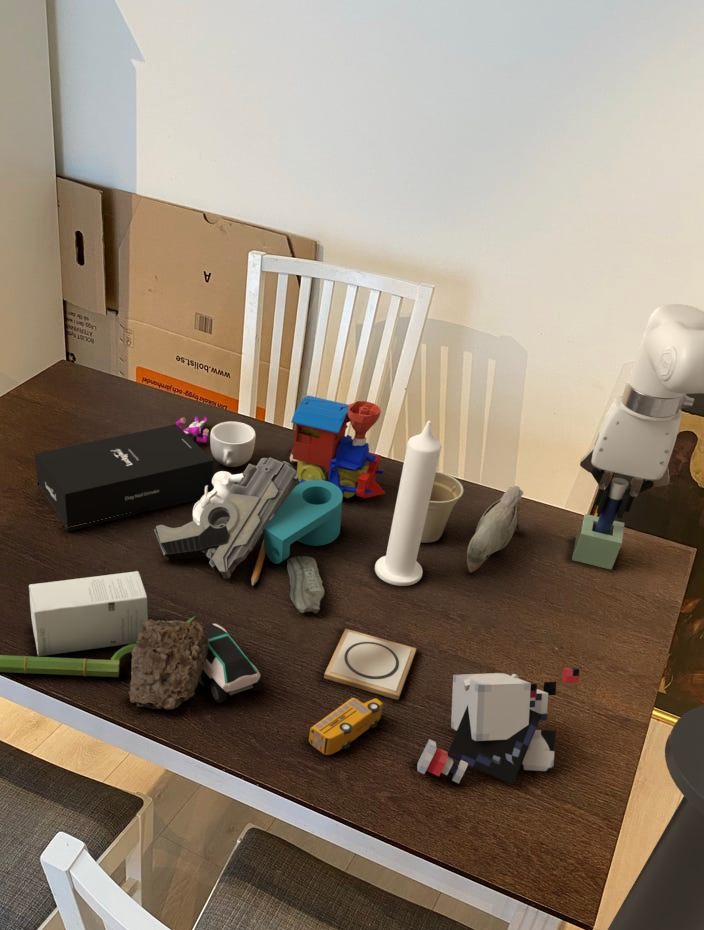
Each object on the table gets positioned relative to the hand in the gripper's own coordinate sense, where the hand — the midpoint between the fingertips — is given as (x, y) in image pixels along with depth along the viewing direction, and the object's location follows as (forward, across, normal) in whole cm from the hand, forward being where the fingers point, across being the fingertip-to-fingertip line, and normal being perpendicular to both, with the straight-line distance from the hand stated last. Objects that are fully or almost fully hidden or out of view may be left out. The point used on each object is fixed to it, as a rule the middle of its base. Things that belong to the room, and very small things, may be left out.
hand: (609, 510), depth 141 cm
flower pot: (+8, +26, +6) cm, 28 cm away
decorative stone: (+8, +48, -11) cm, 50 cm away
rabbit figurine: (+8, +56, +18) cm, 59 cm away
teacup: (+8, +61, 0) cm, 62 cm away
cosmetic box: (+4, +56, +45) cm, 72 cm away
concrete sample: (+2, +48, +56) cm, 74 cm away
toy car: (+8, +43, +49) cm, 66 cm away
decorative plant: (+5, +73, +60) cm, 95 cm away
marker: (+8, 0, 0) cm, 8 cm away
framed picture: (+8, +26, +39) cm, 48 cm away
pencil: (+8, +49, +12) cm, 51 cm away
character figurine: (+8, +70, -5) cm, 71 cm away
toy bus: (+7, +23, +53) cm, 59 cm away
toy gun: (+1, +61, +21) cm, 65 cm away
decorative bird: (+8, +15, +6) cm, 18 cm away
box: (+8, +73, +16) cm, 75 cm away
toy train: (+8, +42, -1) cm, 43 cm away
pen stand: (+8, 0, 0) cm, 8 cm away
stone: (+7, +36, +26) cm, 45 cm away
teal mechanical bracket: (+5, +40, +18) cm, 44 cm away
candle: (+8, +27, +18) cm, 33 cm away
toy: (+2, +15, +47) cm, 50 cm away
